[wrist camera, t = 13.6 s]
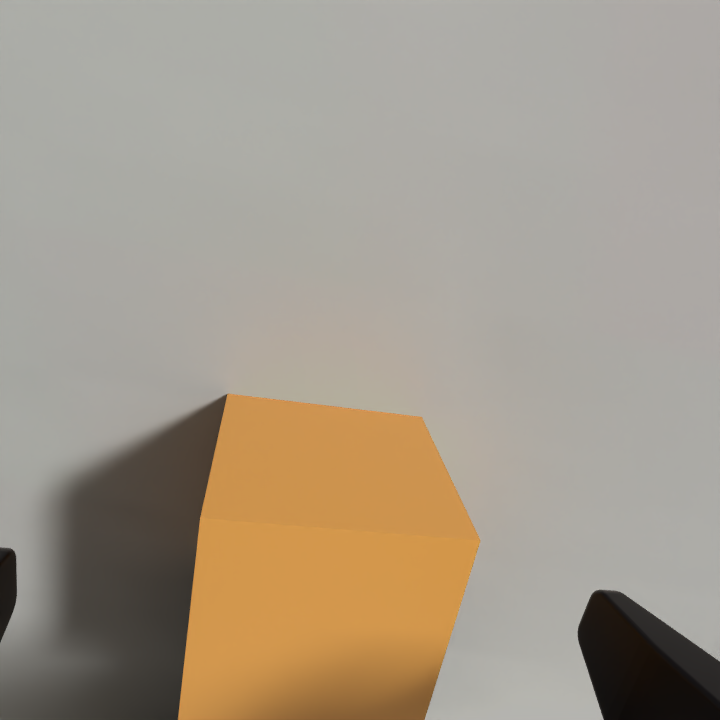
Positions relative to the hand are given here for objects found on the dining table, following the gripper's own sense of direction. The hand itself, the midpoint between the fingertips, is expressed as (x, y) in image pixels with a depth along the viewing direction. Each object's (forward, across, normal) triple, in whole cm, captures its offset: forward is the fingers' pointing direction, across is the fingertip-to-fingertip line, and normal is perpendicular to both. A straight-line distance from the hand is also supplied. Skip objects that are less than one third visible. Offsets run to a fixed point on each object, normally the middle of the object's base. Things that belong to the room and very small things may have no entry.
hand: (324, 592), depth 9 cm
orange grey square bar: (+4, 0, +6) cm, 7 cm away
